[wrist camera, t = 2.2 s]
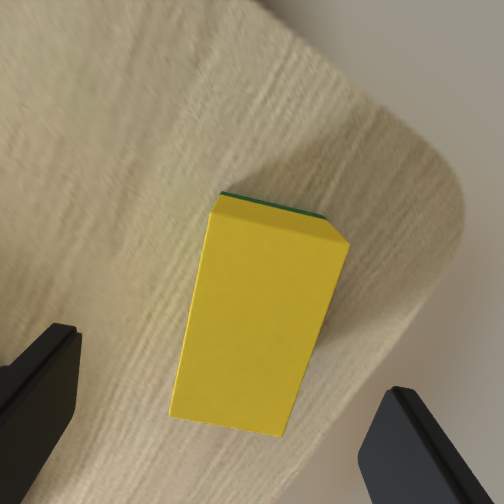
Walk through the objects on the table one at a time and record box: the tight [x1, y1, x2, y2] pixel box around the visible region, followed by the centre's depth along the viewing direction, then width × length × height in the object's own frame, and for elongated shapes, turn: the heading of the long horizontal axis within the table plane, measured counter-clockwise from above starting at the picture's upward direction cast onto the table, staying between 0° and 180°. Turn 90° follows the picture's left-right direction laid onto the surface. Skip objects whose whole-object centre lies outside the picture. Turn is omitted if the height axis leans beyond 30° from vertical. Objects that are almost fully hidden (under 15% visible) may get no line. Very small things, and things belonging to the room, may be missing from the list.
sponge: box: [169, 191, 350, 437], centre depth 15 cm, size 9×5×5 cm, turn 166°
